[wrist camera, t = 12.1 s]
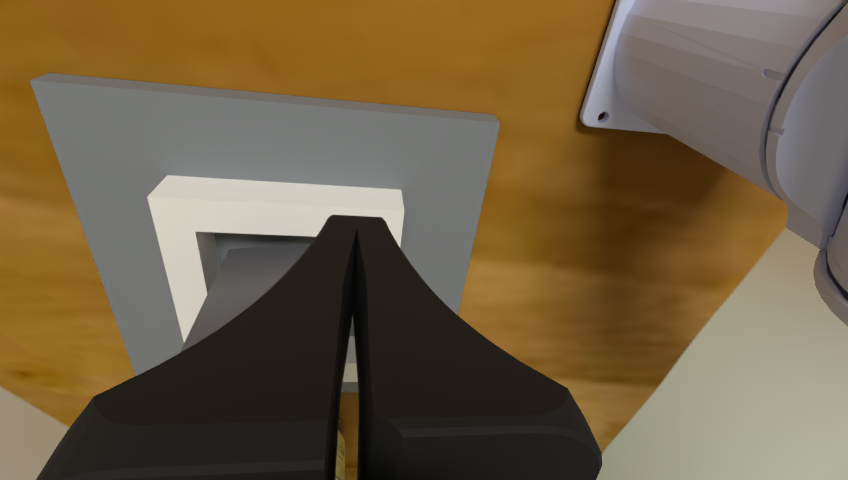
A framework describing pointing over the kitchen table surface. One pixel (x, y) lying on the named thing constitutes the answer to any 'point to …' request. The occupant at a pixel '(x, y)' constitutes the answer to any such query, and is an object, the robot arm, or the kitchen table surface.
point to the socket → (252, 188)
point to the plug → (241, 285)
